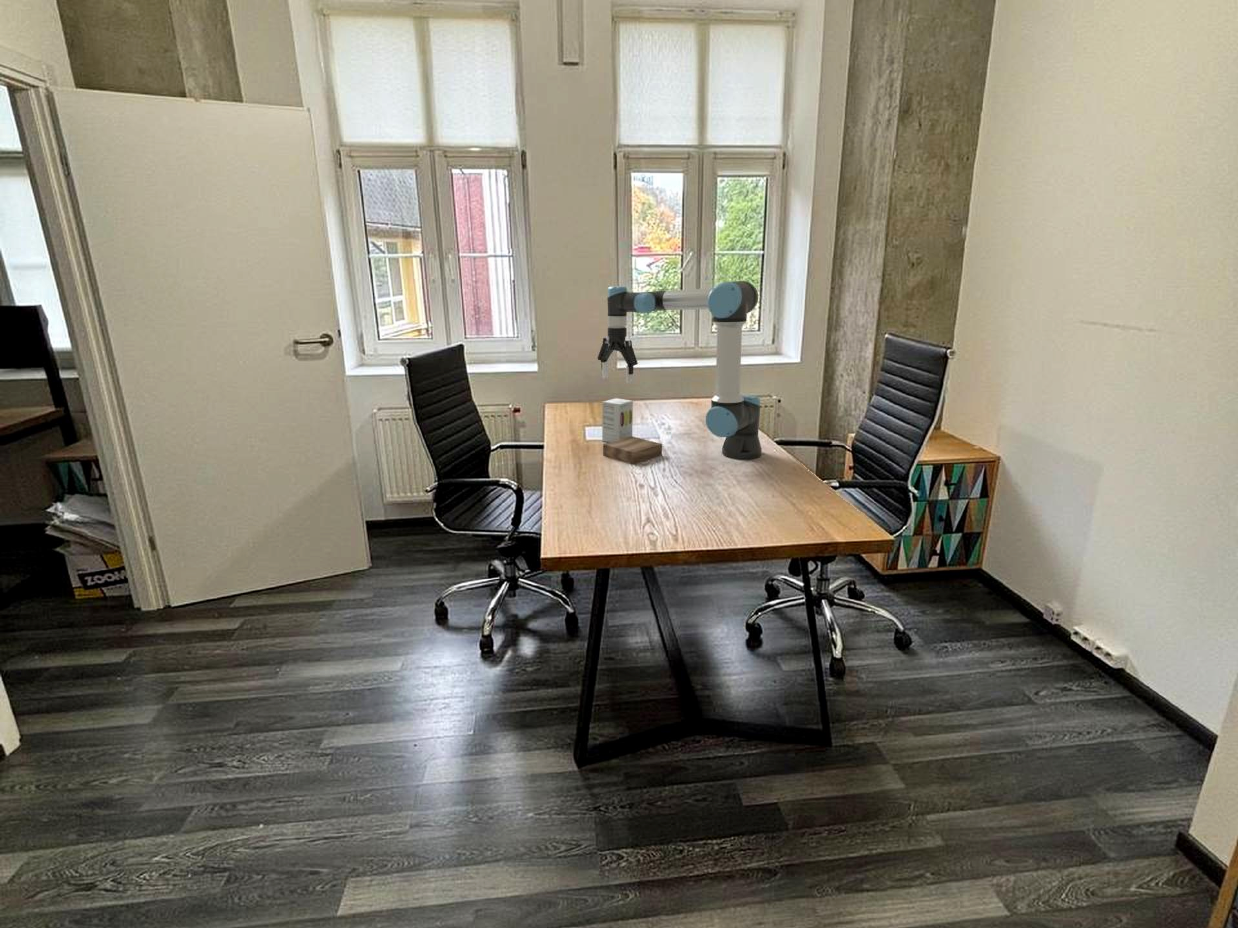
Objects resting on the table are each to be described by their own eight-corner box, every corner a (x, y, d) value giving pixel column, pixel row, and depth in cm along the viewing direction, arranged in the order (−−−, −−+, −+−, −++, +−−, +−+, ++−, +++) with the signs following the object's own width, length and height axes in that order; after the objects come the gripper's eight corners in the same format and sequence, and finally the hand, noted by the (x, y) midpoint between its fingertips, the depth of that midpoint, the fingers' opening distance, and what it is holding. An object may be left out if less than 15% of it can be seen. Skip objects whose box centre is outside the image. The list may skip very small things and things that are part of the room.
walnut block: (661, 456, 248) (661, 443, 247) (633, 465, 237) (633, 452, 236) (631, 448, 259) (631, 436, 257) (603, 456, 248) (603, 444, 247)
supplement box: (619, 445, 262) (619, 404, 257) (601, 441, 267) (601, 401, 262) (633, 439, 269) (633, 400, 264) (615, 436, 275) (615, 397, 269)
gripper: (647, 328, 248) (646, 383, 255) (602, 323, 265) (602, 375, 271) (633, 330, 243) (633, 385, 250) (588, 325, 260) (589, 377, 266)
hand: (617, 380), depth 261 cm, fingers open, 13 cm apart
